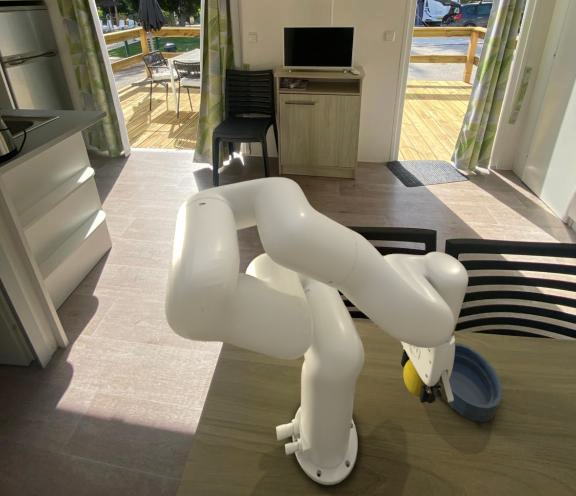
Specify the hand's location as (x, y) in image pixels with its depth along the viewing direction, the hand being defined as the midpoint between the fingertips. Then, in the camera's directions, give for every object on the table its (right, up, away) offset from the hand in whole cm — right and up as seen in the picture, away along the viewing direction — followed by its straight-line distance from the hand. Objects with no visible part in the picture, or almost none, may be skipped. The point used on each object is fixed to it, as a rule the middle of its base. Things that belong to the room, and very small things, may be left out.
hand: (417, 380), depth 61 cm
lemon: (0, -3, +1) cm, 3 cm away
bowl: (+13, -6, +5) cm, 15 cm away
